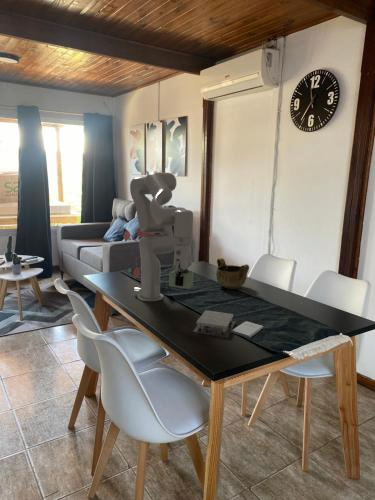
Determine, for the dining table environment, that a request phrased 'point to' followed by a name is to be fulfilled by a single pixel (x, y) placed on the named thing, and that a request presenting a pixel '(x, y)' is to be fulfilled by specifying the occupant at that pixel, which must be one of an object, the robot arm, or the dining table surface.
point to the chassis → (215, 324)
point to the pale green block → (187, 279)
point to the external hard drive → (247, 329)
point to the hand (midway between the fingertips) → (181, 283)
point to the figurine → (127, 235)
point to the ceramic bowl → (231, 274)
